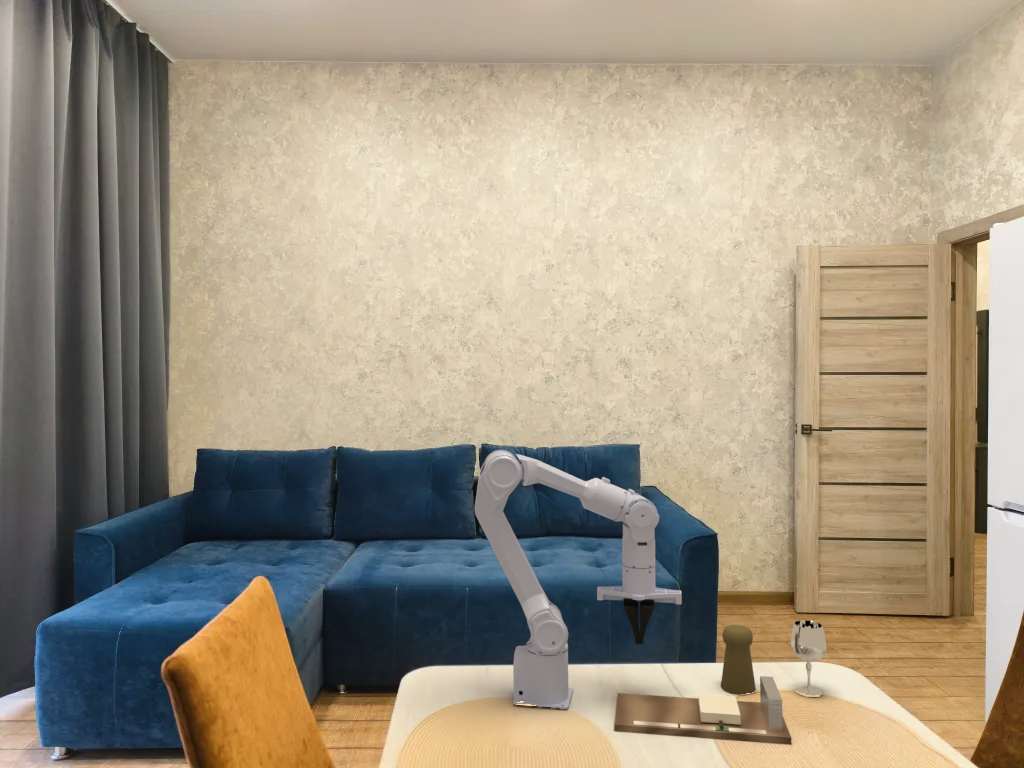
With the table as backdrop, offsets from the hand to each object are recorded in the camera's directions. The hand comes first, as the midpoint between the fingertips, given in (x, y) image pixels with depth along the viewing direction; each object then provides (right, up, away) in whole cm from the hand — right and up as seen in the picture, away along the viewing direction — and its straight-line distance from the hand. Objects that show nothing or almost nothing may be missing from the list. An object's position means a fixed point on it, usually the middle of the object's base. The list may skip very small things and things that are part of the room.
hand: (639, 642), depth 129 cm
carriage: (+11, -8, -11) cm, 17 cm away
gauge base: (+8, -9, -10) cm, 15 cm away
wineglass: (+30, -9, +1) cm, 31 cm away
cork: (+18, -9, +3) cm, 21 cm away
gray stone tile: (+19, -9, -12) cm, 24 cm away
